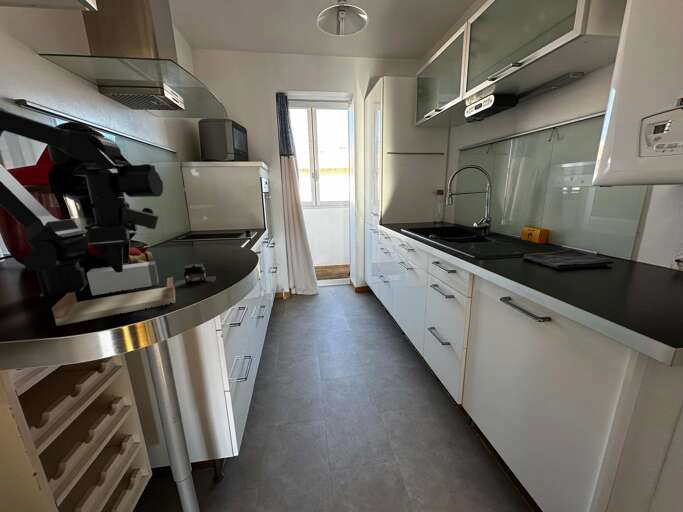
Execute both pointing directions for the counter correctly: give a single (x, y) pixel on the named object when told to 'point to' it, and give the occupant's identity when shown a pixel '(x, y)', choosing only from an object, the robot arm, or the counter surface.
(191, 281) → the dark piece
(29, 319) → the counter surface
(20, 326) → the counter surface
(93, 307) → the cradle
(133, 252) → the kendama
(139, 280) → the grey-ended white block
